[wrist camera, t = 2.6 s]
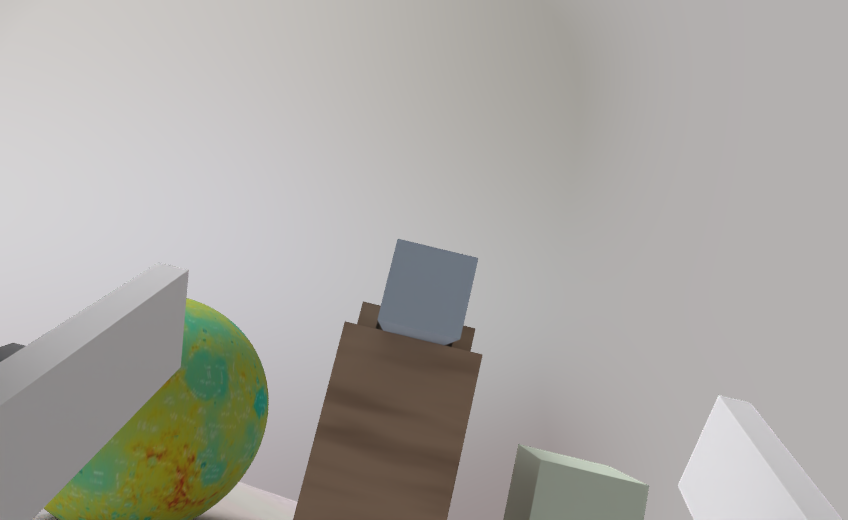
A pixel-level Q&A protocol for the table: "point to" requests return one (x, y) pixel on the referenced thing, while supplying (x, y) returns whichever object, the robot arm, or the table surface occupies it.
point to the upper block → (571, 489)
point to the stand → (389, 426)
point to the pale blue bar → (427, 293)
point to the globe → (180, 434)
